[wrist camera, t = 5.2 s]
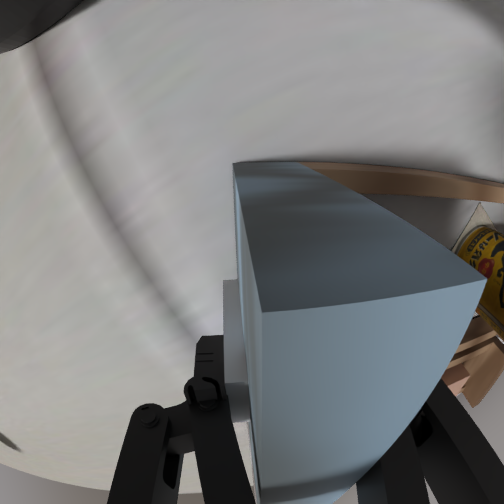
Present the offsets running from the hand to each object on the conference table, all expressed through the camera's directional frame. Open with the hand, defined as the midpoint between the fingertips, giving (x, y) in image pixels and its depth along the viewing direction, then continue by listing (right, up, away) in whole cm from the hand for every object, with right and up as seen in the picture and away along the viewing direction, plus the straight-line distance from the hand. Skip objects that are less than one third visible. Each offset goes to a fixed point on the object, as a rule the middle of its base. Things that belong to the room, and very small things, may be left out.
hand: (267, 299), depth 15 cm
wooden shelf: (+11, +1, +2) cm, 12 cm away
